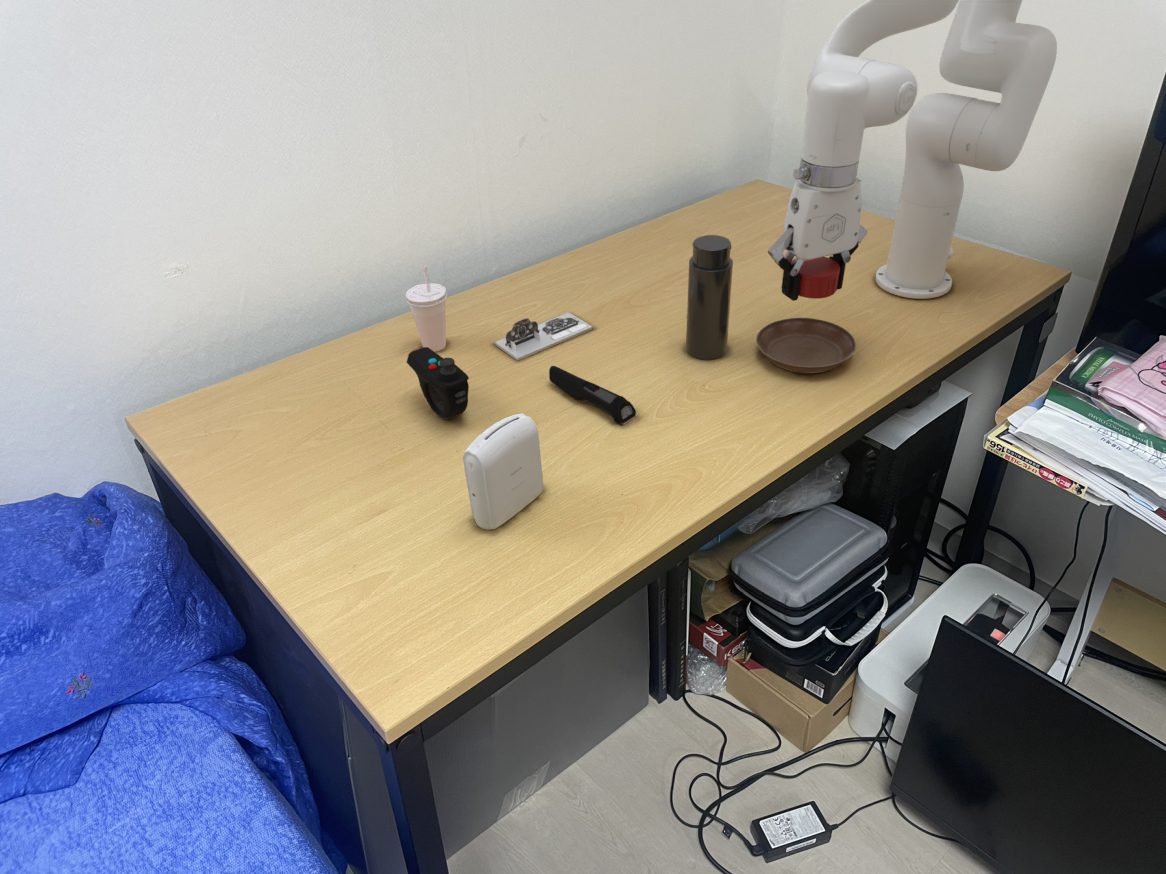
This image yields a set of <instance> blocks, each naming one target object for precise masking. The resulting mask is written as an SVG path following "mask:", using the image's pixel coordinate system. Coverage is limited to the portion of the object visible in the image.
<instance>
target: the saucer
mask: <svg viewBox="0 0 1166 874" xmlns="http://www.w3.org/2000/svg"><path fill="white" fill-rule="evenodd" d="M755 340H756V341H755V342H756V345H757V347H758V349H759V351H760V352H761V353H762V355H763V356H764V357H765V358H766V359H767V360H768V361H770V362H771V363H772V364H774V365H776V366H777V367H779V368H781V369H784V370H785V371H789V372H793V373H798V374H818V373H824V372H829V371H830V370H833V369H835V368H837V367H839V366H841V365H842V364H844V363H845V362H847V360H849V359H850V357H852V356H853V354H854V353H855V351H856V348H857V342H856V340H855V338H854V336H853V335H852V333H850V332H849V331H848V330H847V329H845V328H844V327H841V326H840V325H839V324H835V323H833V322H830V321H827V320H823V319H819V318H810V317H789V318H784V319H779V320H776V321H773V322H769V323H768V324H766V325H765V326H763V327H762V328H761V329H760V330H759V331H758V332H757V335H756V338H755Z"/></svg>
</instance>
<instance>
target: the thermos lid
mask: <svg viewBox="0 0 1166 874" xmlns="http://www.w3.org/2000/svg"><path fill="white" fill-rule="evenodd" d="M795 259H796V258H793V260H792V262H791V264H793V263H794V261H795ZM839 273H840V266H839V264H838V263H837V262H836V261H834V260H832V259H830V258H829V257H828V256H825V257H821V258H816V259H812V260H804V262H803V264H802V266H801V268H800V270H799V272H798V273H797V274H799V275H800V276H801V280H800V288H799V295H798V297H801V298H805V299H825V298H829V297H831V296H833V295H834V294H836V292H837V291H838V289H837V287H838V280H839Z"/></svg>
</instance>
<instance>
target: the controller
mask: <svg viewBox="0 0 1166 874" xmlns="http://www.w3.org/2000/svg"><path fill="white" fill-rule="evenodd" d="M455 362H456V361H455V359H454V358H452V357H442V356H441V355H440V354H438V353H437V352H434V351H433V350H431V349H430V348H428V347H423V346H422V347H420V348H418V349H415V350H413V351H410V353H408V355H407V359H406V364H407V365H408V366H409V367H410V368H411V369H412V370H413V372H414V373H415V374H416V376H417V379H418V383H419V387H420V389H421V392H422V394H423V396H424V399H425V401H426V402H427V404H428V405H429V407H430V408H431V410H432V411H433V412H434V414H435V415H437V416H438V417H440V418H442V419H444V420H451V419H454V418H456V417H458V416H460V415H462V414H463V413H464V412H465V411H466V410H467V408H468V404H469V389H470V386H469V381H468V380H469V379H470V378H469V375H468V374H467V373H466V372H465V371H464V370H462V368H460V367H459V366H458V365H457V364H455Z"/></svg>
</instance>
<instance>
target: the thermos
mask: <svg viewBox="0 0 1166 874" xmlns="http://www.w3.org/2000/svg"><path fill="white" fill-rule="evenodd" d="M691 244H692V245H691V246H692V256H691V257H690V258H689V260H688V279H687V280H688V281H687V307H686V312H687V313H686V332H685V333H686V335H685V351H686V353H687V354H688V355H689V356H690V357H691V358H694V359H697V360H700V361H701V360H702V361H712V360H717V359H720V358H722V357H723V356H725V355H726V354H727V351H728V339H729V326H730V311H731V310H730V309H731V299H732V296H731V295H732V285H733V284H732V283H733V268H734V261H733V258H731V250H732V242H731V240H730V239H729V238H727V237H725V236H722V235H717V234H707V235H702V236H698V237H696V238H695V239H694V240H693V241H692V243H691Z"/></svg>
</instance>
